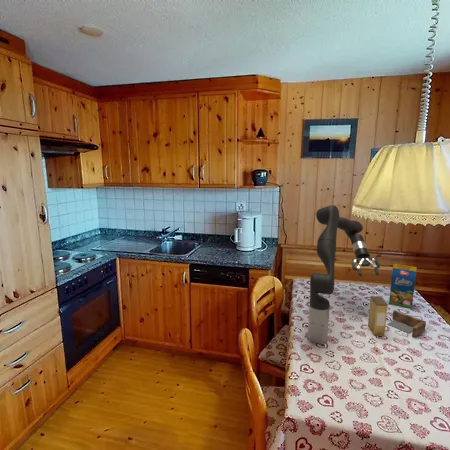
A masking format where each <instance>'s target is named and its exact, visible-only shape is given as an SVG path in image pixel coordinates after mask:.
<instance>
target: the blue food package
mask: <svg viewBox="0 0 450 450" xmlns="http://www.w3.org/2000/svg"><path fill="white" fill-rule="evenodd" d="M417 270H418V267H417V266H410V265H404V264H398V263H393V266H392V272H391V273H392V274H391V281H390V282H391V283H390V291H389V292H390V293H389V300H388V301H389V302H388V304H389V305H393V306H399V307H402V308H406V309H413V304H414V303H413V302H414V294H415V293H414V292H415V287H416V286H415V285H416V277H417Z"/></svg>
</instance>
